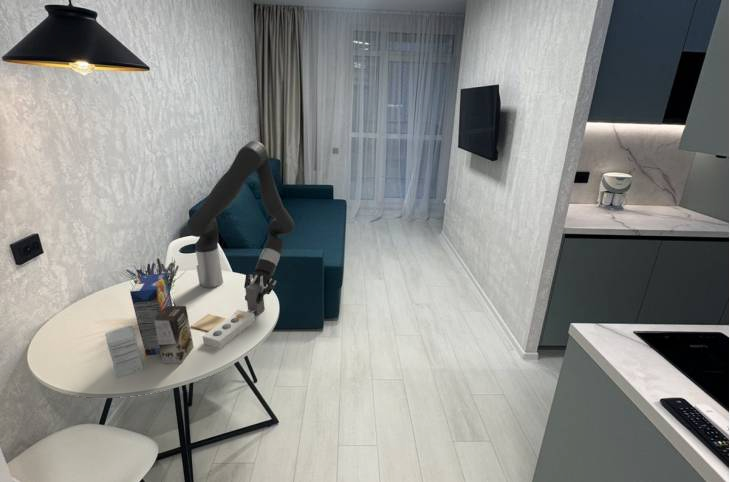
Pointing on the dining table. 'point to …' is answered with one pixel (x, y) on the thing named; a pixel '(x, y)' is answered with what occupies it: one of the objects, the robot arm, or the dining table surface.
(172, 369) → the dining table surface
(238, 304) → the dining table surface
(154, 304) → the cereal box
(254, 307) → the block
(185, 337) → the coffee box
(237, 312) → the power strip
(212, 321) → the coaster
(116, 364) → the supplement box
